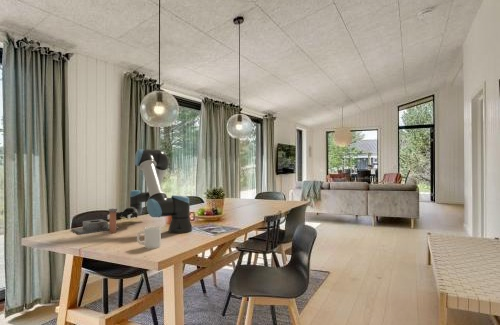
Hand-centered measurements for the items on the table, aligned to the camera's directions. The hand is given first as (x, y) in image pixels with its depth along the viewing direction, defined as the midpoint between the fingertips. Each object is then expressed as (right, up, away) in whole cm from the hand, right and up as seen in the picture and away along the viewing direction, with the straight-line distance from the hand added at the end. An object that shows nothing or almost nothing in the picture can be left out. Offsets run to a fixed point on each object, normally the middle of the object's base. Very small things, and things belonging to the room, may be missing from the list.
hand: (117, 217), depth 216 cm
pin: (0, -8, -8) cm, 12 cm away
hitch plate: (-15, -8, 0) cm, 17 cm away
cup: (+35, -8, -46) cm, 58 cm away
